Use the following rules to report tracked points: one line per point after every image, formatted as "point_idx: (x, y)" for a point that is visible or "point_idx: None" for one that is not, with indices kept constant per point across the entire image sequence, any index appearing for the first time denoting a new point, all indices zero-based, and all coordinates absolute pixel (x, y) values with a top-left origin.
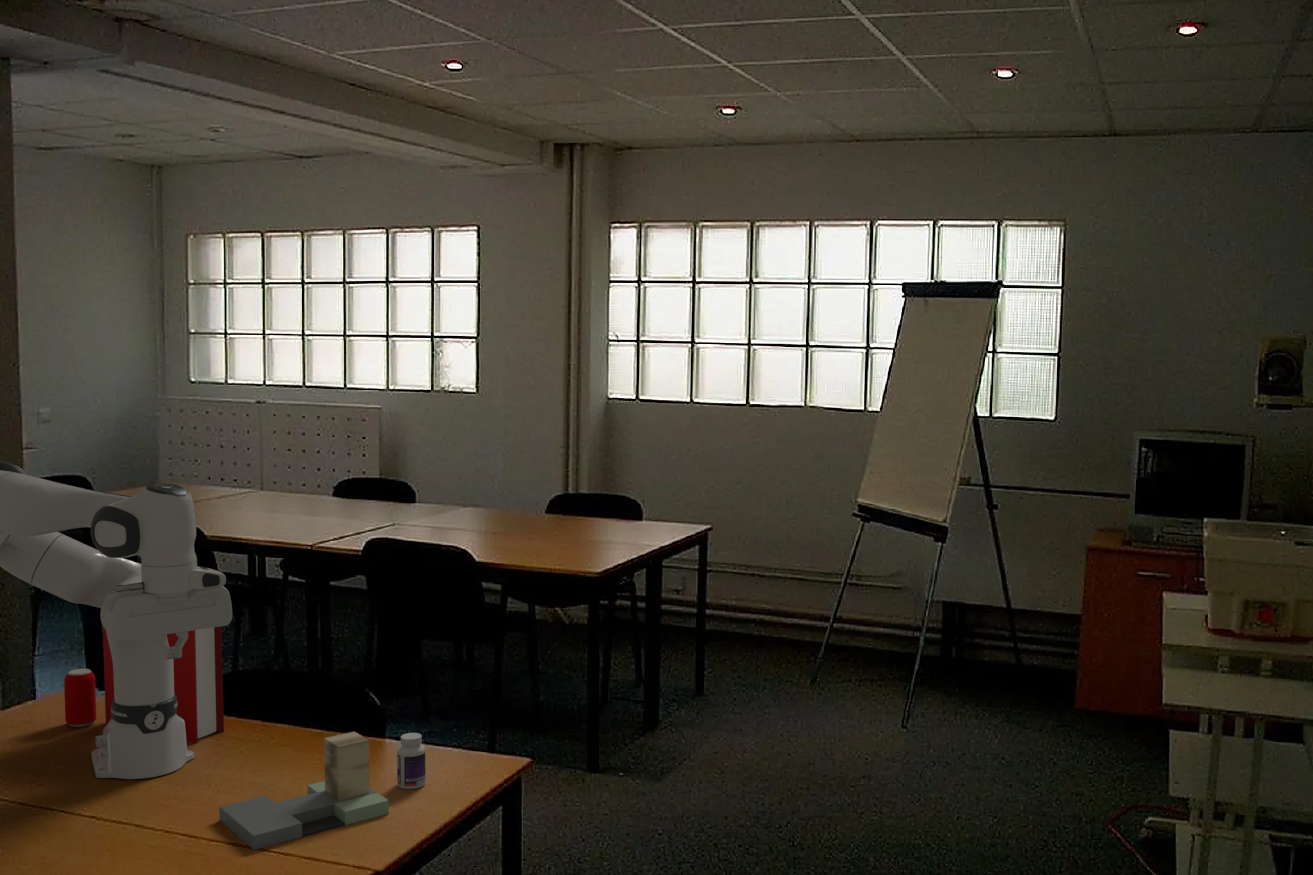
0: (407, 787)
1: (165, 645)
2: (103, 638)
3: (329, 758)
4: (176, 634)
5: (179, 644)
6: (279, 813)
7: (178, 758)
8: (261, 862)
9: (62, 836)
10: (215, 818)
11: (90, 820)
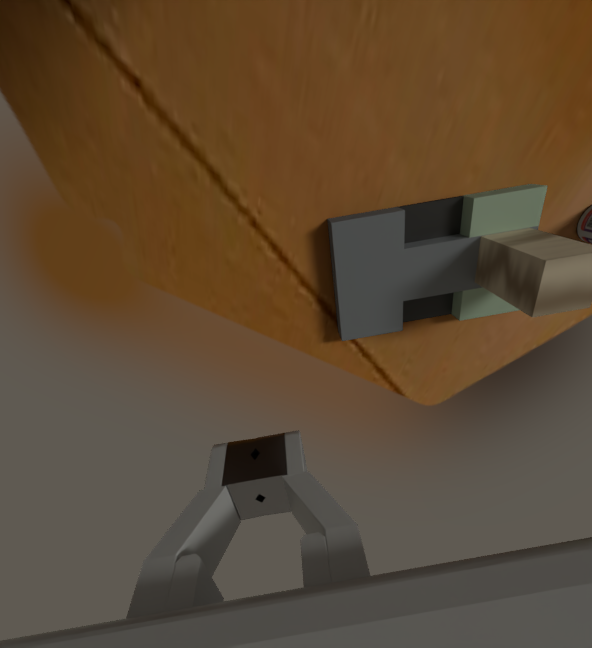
0: (581, 238)
1: (222, 555)
2: None
3: (516, 271)
4: (301, 555)
5: (303, 525)
6: (392, 289)
7: None
8: (335, 362)
9: (96, 160)
10: (323, 207)
11: (133, 102)
